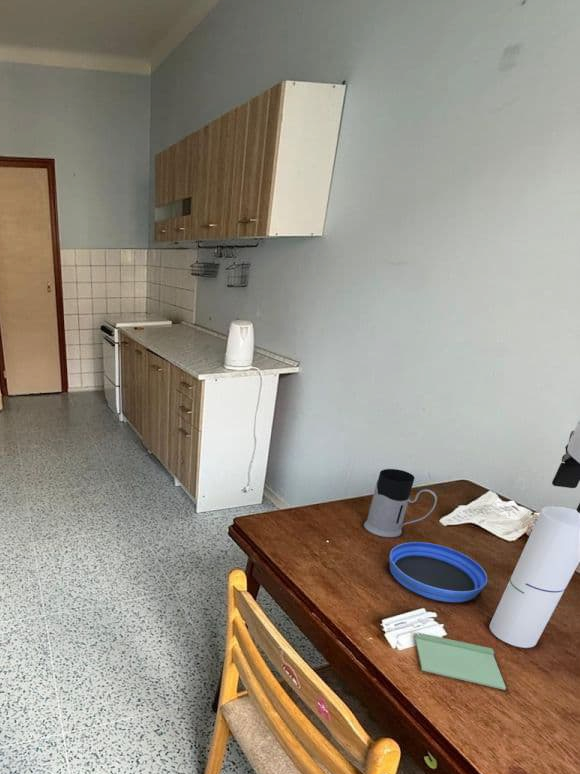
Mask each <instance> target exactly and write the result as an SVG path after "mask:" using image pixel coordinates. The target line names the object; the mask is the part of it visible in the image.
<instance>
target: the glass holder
mask: <svg viewBox="0 0 580 774" xmlns="http://www.w3.org/2000/svg"><path fill="white" fill-rule="evenodd" d="M414 482H415V476H414V475H413V474H412V473H410V472H408V471H406V470H402V469H396V468H385V469H381V470H380V472H379V475H378V479H377V481H376V484H375V488H374V492H373V495H372V499H371V503H370V506H369V511H368V515H367V519H366V520H365V522H364V523H363V526H364V527H363V528H364V529H365V530H367V532H369V533H370V534H372V535H376V536H378V537H382V538H383V537H384V538H396V537H399V536H401V535H402V533H403V531H402V528H403V526H405V525H410V524H414V523H417V522H419V521H422V520H424V519H426V518H427V517H429V516H430V515H431V514H432V512H433V511H434V510H435V508H436V506H437V502H438V497H437V494H436V493H435V492H434V491H433V490H430V489H421V490H420V491H418V492H417V493H416V495H415V498H414V500H411V492H412V488H413V485H414ZM424 492H427V493H430V494H431V495H432V496H433V498H434V503H433V505H432V508H431V509H430V510H429V512H428V513H426V514H425V515H424V516H422V517H419V518H417V519H414V520H411V521H406V522H404V519H405V516H406V512H407V509H408V506H409V503H410V504H411V503H412V504H414V503H416V502H417V500H418V499H419V497H420V494H421V493H424Z"/></svg>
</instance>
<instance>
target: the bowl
mask: <svg viewBox="0 0 580 774" xmlns="http://www.w3.org/2000/svg"><path fill="white" fill-rule="evenodd" d="M388 562H389V570H390V573H391V575H392V576H393V578H394V579H395V580H396V581H397V582H398V583H399V584H400V585H402V586H403V587H404V588H406V589H407V590H409V591H411V592H413V593H415V594H417V595H418V596H419V595H420V596H422V597H424V598H428V599H431V600H434V601H438V602H444V603H464V602H469V601H471V600H473V599H475V598H477V596H478V595H479V594H480V593H481V592H482V591H483V590H484V589H485V588H486V586H487V583H488V575H487V572H486V571H485V570H484V568H483V567H482V566H481V565H480V564H479V563H478V562H477V561H475V560H474V559H472V558H471V557H469V556H468V555H466V554H464V553H462V552H460V551H458V550H455V549H453V548H450V547H448V546H444V545H442V544H441V545H440V544H436V543H431V542H424V541H423V542H422V541H412V542H404V543H401V544H397V545H396V546H394V547H393V548H392V549H391V551H390V553H389V556H388Z"/></svg>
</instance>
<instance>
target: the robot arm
mask: <svg viewBox="0 0 580 774" xmlns="http://www.w3.org/2000/svg"><path fill="white" fill-rule="evenodd" d="M564 449H565V453H564V454H563V455H562V457H561V462H560V464H559V466H558V468H557V470H556V472H555V475H554V477H553V479H552V482H551V485H553V486H554V487H560V488H567V489H576V488H577V487H578V485H579V483H580V419H579V420H578V422H577V424H576V426H575V428H574V430H571V432H570V433H569V438H568V443H567V444H566V445H565V446H564ZM576 510H577V512H578V513H580V502H579V503H578V505H577V507H576Z"/></svg>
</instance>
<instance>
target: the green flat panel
mask: <svg viewBox="0 0 580 774" xmlns="http://www.w3.org/2000/svg"><path fill="white" fill-rule="evenodd" d="M416 632H417V631H416ZM416 632H415V633H414V635H413V636H414V640H415V646H416V649H417V655H418V660H419V664H420V670H421V671H422V672H427V673H431V674H435V675H438V676H443V677H447V678H452V679H456V680H460V681H465V682H469V683H473V684H477V685H482V686H486V687H490V688H494V689H499V690H503V691H506V689H507V686H506V684H505V681H504V679H503V676H502V674H501V671H500V669H499V666H498V663H497V660H496V658H495V651H494V649H493V648H492V647H487V646H482V645H479V644H473V643H469V642H465V641H460V640H455V639H450V638H445V637H440V636H436V635H432V634H426V633H422V632H417V633H418V634H419V635H418V634H417V633H416ZM421 633H422V634H421Z"/></svg>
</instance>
